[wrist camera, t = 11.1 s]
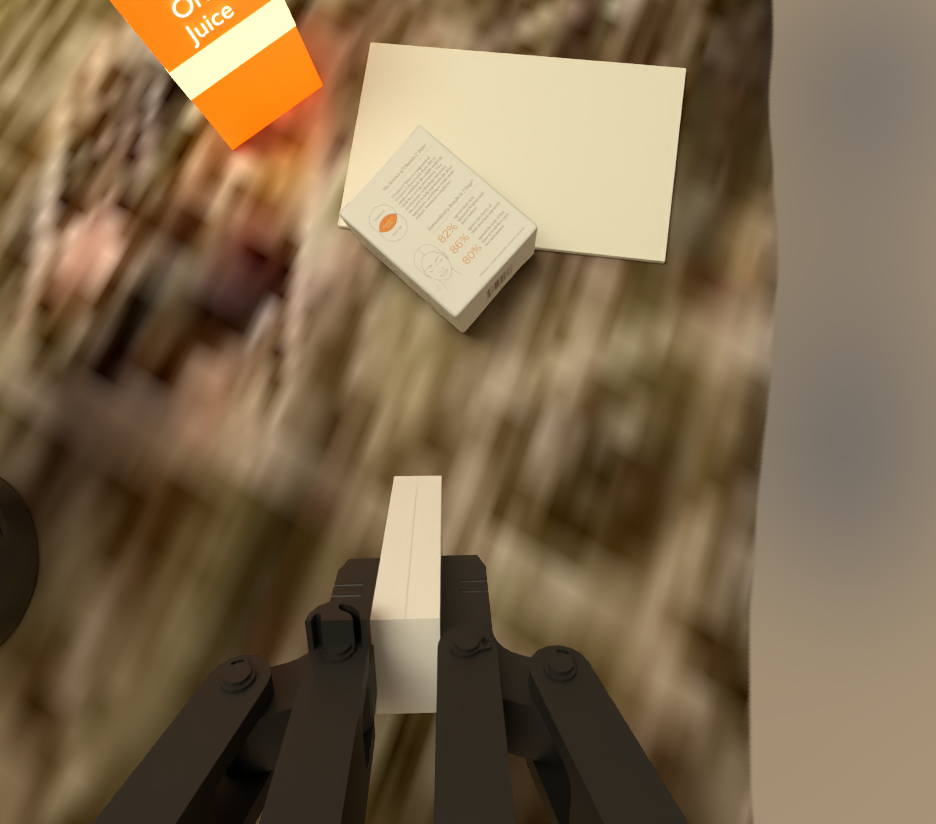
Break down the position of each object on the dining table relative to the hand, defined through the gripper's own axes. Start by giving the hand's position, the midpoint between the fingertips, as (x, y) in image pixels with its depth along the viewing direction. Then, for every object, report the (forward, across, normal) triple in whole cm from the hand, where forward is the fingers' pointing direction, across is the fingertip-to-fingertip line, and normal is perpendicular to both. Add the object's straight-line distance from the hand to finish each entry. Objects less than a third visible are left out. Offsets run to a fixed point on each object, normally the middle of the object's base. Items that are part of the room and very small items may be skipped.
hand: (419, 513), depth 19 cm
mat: (+31, +6, +12) cm, 34 cm away
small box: (+23, +5, +3) cm, 24 cm away
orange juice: (+37, -14, +17) cm, 43 cm away
